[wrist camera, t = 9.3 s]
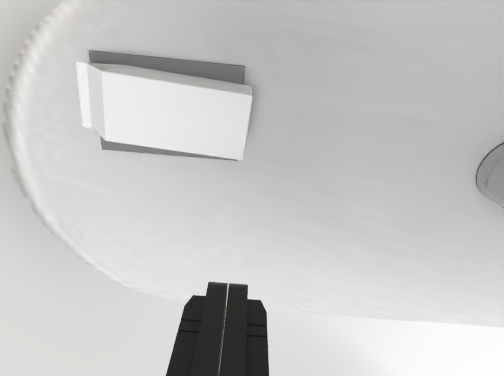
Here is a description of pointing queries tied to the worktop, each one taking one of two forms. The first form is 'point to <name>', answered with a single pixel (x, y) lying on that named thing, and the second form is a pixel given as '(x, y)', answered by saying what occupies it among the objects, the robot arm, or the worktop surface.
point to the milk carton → (165, 109)
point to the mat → (175, 66)
